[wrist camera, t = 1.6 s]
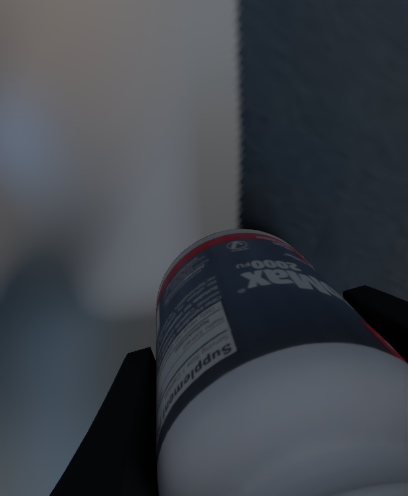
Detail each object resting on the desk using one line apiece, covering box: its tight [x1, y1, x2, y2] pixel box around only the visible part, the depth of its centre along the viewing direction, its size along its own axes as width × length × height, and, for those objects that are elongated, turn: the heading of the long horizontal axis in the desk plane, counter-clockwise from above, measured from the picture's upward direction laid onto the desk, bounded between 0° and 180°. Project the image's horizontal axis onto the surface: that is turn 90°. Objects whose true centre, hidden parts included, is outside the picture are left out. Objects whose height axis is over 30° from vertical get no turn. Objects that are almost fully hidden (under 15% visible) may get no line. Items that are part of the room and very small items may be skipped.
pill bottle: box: [156, 229, 408, 496], centre depth 7 cm, size 5×5×9 cm
